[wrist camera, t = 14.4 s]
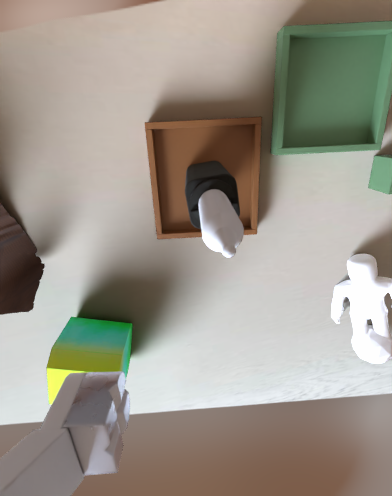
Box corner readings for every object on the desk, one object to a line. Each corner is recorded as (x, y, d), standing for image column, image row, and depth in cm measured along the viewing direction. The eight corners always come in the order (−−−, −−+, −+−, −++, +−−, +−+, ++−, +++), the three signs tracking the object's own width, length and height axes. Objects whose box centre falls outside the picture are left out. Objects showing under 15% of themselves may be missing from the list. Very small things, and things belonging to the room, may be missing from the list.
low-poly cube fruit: (129, 363, 53) (108, 446, 39) (76, 358, 52) (35, 441, 38) (133, 316, 49) (111, 390, 35) (75, 310, 48) (29, 383, 34)
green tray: (276, 33, 33) (283, 25, 31) (391, 27, 33) (406, 19, 31) (270, 153, 39) (275, 155, 36) (368, 148, 39) (380, 149, 36)
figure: (407, 344, 50) (397, 242, 44) (421, 373, 44) (412, 261, 38) (337, 346, 54) (319, 254, 48) (341, 372, 49) (322, 272, 42)
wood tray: (147, 122, 37) (144, 122, 35) (258, 117, 37) (261, 116, 35) (158, 234, 43) (157, 239, 41) (253, 229, 43) (257, 234, 41)
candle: (184, 165, 38) (177, 219, 15) (221, 159, 38) (270, 203, 15) (191, 201, 40) (194, 297, 17) (226, 195, 40) (276, 284, 17)
